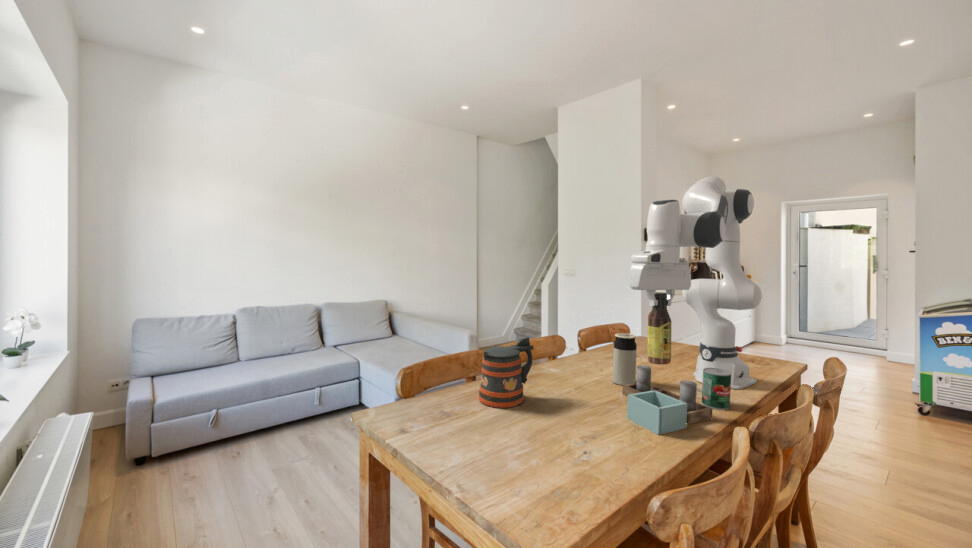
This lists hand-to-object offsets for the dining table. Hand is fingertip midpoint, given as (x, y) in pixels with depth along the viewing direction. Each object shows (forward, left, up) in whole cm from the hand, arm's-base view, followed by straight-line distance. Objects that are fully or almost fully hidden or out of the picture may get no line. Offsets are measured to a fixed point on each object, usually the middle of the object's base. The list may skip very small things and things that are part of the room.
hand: (660, 305), depth 113 cm
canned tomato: (-28, -2, -34) cm, 44 cm away
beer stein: (+32, -32, -34) cm, 57 cm away
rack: (-12, -8, -34) cm, 37 cm away
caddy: (+1, +1, -34) cm, 34 cm away
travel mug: (-16, -30, -34) cm, 48 cm away
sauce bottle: (0, 0, -16) cm, 16 cm away
